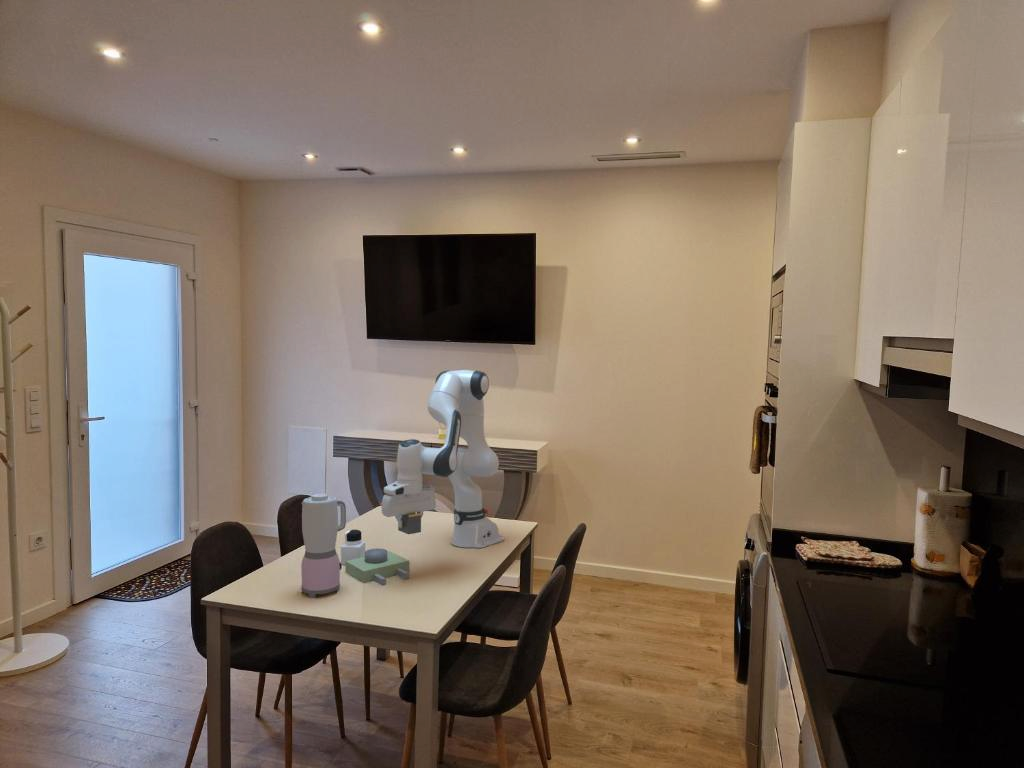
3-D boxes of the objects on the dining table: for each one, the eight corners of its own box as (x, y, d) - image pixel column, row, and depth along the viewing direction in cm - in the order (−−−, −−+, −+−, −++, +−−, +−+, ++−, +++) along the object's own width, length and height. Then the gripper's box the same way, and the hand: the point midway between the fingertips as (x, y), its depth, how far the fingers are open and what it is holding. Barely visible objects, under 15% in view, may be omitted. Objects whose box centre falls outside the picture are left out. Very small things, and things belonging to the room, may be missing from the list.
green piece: (390, 561, 252) (389, 543, 251) (418, 576, 236) (418, 556, 236) (345, 571, 240) (345, 552, 240) (372, 587, 225) (371, 567, 224)
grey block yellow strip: (410, 528, 239) (410, 509, 239) (420, 532, 234) (421, 513, 234) (398, 530, 236) (398, 511, 236) (408, 534, 231) (408, 515, 230)
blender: (312, 601, 213) (310, 501, 211) (294, 590, 222) (292, 495, 220) (355, 588, 224) (354, 494, 222) (337, 579, 233) (336, 488, 231)
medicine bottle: (365, 559, 254) (365, 528, 253) (359, 565, 247) (359, 533, 246) (347, 559, 255) (347, 527, 254) (340, 565, 248) (340, 533, 247)
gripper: (429, 481, 243) (429, 519, 244) (379, 488, 230) (379, 528, 231) (439, 484, 239) (439, 523, 239) (388, 491, 225) (388, 532, 226)
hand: (409, 525), depth 235 cm, fingers closed on grey block yellow strip, 5 cm apart
